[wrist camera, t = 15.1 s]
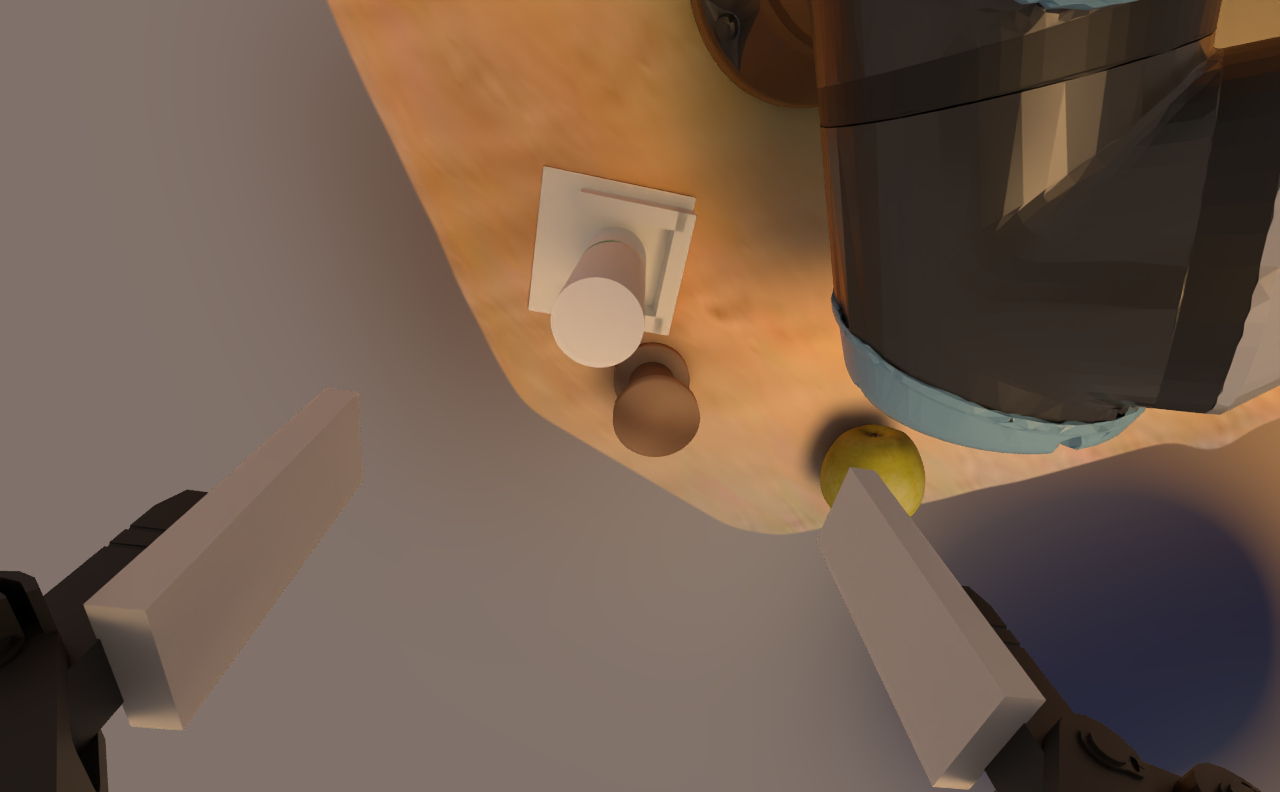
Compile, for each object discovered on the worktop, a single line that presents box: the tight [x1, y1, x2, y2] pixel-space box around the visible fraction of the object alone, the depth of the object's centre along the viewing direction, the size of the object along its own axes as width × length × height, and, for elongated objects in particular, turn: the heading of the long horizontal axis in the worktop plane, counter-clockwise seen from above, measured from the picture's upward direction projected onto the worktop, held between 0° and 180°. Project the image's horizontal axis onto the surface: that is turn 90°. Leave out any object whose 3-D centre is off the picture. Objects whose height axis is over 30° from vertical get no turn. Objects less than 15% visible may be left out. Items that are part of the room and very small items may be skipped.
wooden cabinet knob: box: [613, 343, 700, 457], centre depth 39 cm, size 6×6×7 cm
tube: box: [550, 227, 646, 368], centre depth 31 cm, size 4×4×15 cm
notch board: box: [528, 166, 697, 336], centre depth 37 cm, size 10×10×3 cm
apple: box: [820, 424, 925, 517], centre depth 43 cm, size 8×9×8 cm
